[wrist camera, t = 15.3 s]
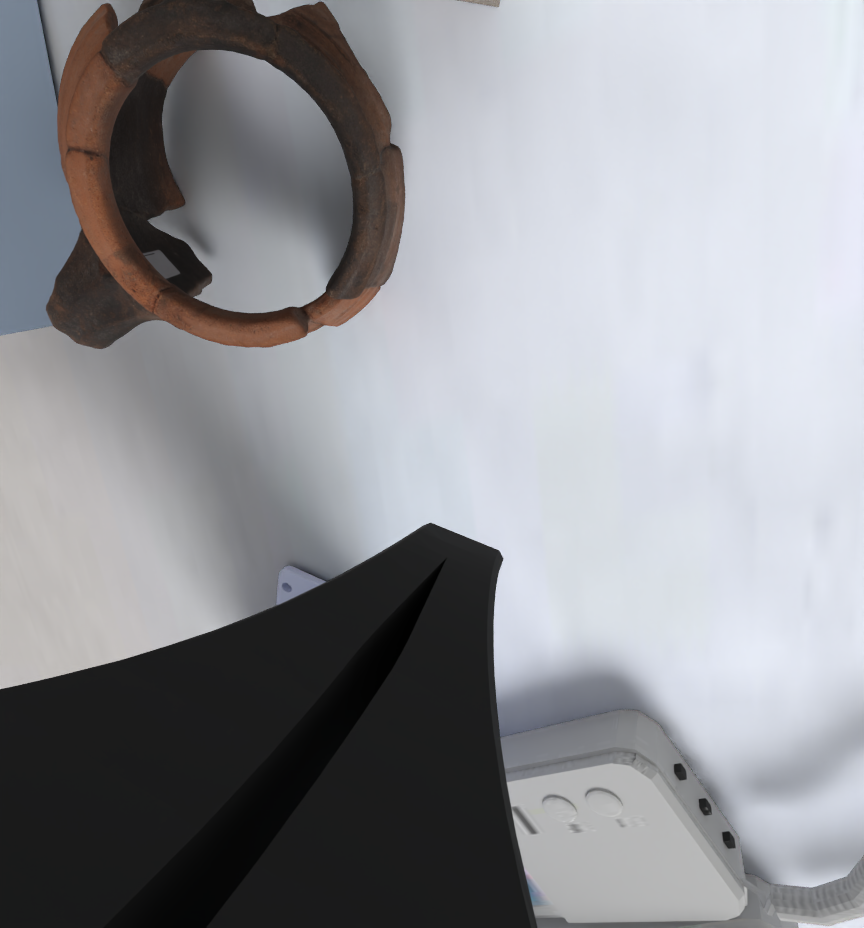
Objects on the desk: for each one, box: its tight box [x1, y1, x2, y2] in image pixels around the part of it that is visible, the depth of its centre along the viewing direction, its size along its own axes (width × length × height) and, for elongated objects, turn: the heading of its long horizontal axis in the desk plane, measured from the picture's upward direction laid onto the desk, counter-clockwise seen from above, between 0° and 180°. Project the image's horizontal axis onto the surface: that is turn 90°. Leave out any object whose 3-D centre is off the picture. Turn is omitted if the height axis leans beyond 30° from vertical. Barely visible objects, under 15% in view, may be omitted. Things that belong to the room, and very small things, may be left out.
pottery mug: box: [46, 0, 405, 349], centre depth 16 cm, size 12×10×8 cm
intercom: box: [500, 709, 864, 928], centre depth 22 cm, size 13×4×25 cm
